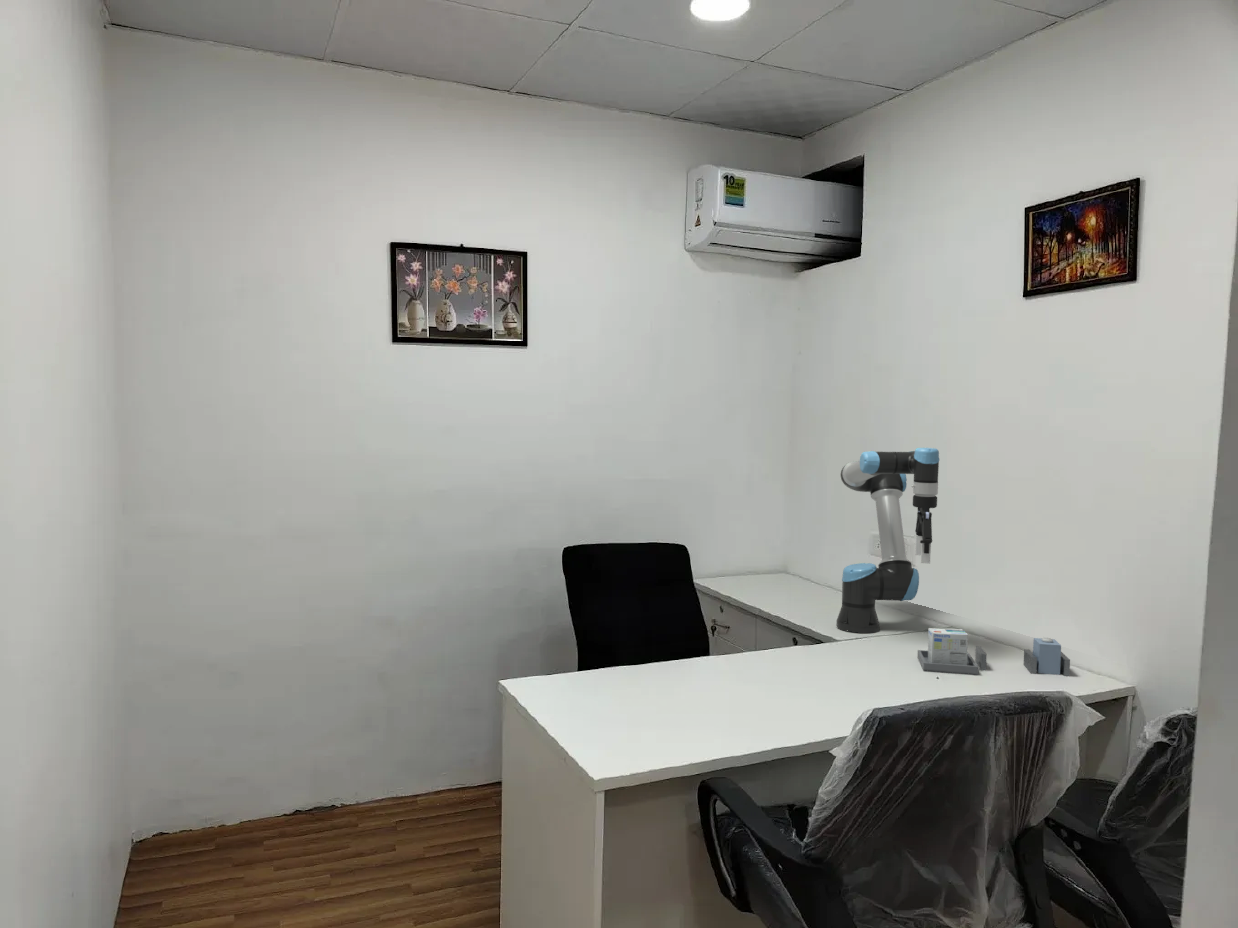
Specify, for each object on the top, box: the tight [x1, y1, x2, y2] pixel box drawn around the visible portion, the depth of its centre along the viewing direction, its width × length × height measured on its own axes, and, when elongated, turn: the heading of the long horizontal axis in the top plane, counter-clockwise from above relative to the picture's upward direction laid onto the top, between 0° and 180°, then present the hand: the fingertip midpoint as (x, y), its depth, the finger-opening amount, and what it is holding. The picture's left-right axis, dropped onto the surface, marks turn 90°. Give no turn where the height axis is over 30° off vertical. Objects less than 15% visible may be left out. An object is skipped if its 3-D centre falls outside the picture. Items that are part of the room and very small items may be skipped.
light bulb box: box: [927, 627, 969, 665], centre depth 261 cm, size 11×7×11 cm, turn 82°
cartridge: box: [1032, 637, 1062, 675], centre depth 258 cm, size 7×6×10 cm
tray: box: [916, 649, 979, 676], centre depth 261 cm, size 15×16×2 cm
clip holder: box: [974, 645, 1071, 677], centre depth 259 cm, size 9×25×5 cm, turn 77°
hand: (922, 559), depth 277 cm, fingers open, 13 cm apart
